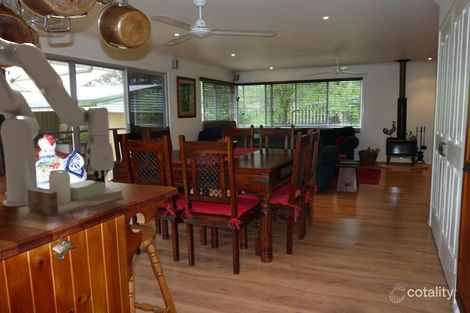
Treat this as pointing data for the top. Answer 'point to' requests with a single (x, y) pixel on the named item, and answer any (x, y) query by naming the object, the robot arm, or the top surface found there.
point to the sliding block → (86, 189)
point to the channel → (48, 204)
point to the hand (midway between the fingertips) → (100, 187)
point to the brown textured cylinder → (89, 176)
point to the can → (60, 185)
